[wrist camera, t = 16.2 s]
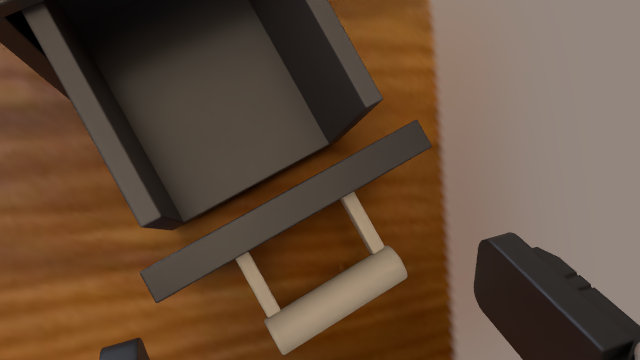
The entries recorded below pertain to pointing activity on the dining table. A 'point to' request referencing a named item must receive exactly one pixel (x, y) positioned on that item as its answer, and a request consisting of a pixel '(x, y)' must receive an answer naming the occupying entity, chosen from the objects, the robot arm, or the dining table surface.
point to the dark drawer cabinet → (25, 40)
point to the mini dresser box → (228, 130)
